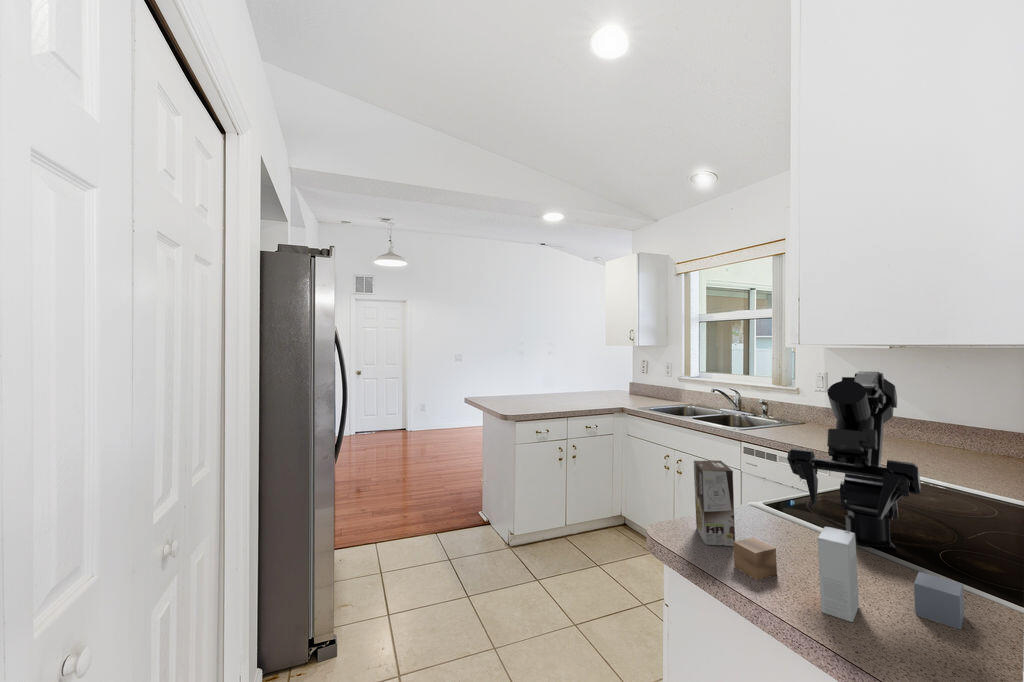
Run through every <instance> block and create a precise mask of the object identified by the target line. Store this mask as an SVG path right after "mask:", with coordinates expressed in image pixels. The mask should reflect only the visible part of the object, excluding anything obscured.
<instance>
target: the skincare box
mask: <svg viewBox="0 0 1024 682" xmlns="http://www.w3.org/2000/svg"><path fill="white" fill-rule="evenodd" d="M817 553H818V574H819V593H820V610H821V613H823V614H826V615H830V616H832V617H835V618H838V619H841V620H844V621H847V622H849V623H854V621H855V618H856V615H857V613H858V608H859V606H860V599H859V598H860V597H859V582H858V581H859V580H858V563H857V561H858V560H857V543H856V541H855V533H853V532H849V531H846V530H843V529H839V528H835V527H830V526H824V527H823V528H822V530H821V532H820V534H819V535H818V537H817Z"/></svg>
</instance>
